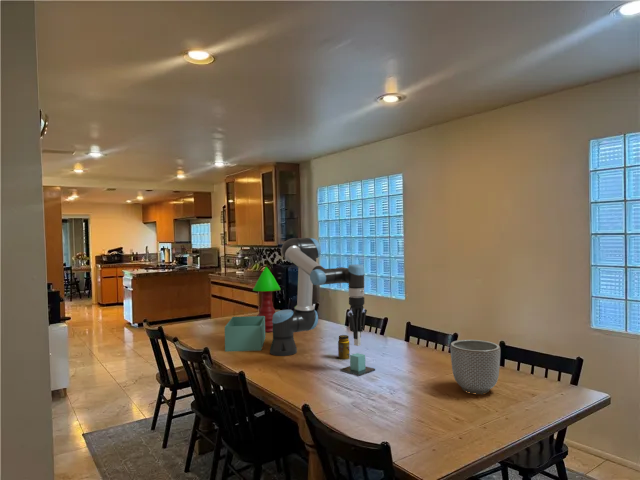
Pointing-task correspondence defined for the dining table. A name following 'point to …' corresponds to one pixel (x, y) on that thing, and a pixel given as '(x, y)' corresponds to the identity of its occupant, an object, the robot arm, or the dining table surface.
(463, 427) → the dining table surface
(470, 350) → the planter
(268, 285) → the table lamp
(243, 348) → the box
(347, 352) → the condiment
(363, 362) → the teal block
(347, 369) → the grey square plate
